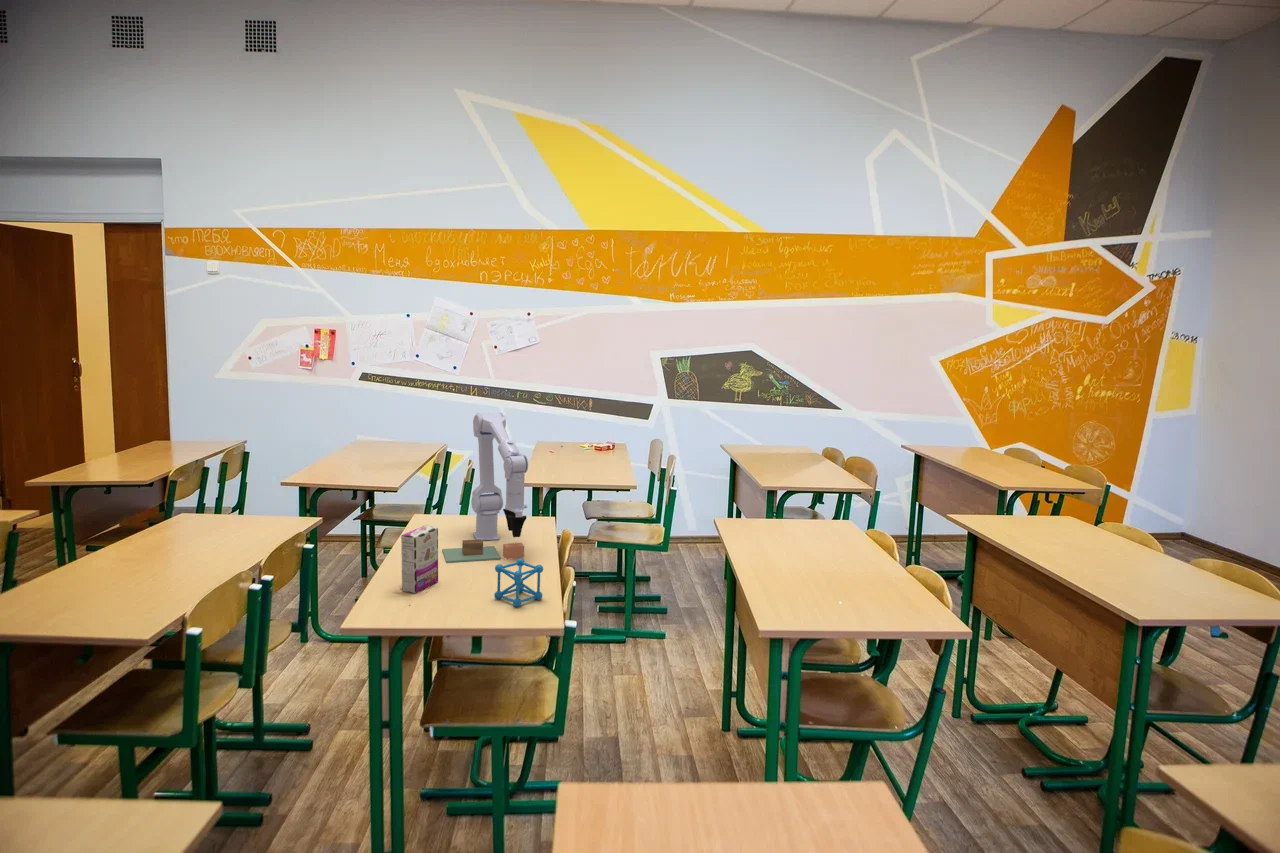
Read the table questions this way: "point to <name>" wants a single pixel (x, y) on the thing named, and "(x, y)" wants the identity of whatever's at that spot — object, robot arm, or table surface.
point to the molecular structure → (518, 582)
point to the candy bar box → (419, 559)
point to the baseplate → (457, 555)
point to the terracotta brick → (513, 550)
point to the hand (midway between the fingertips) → (514, 533)
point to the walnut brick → (472, 547)
